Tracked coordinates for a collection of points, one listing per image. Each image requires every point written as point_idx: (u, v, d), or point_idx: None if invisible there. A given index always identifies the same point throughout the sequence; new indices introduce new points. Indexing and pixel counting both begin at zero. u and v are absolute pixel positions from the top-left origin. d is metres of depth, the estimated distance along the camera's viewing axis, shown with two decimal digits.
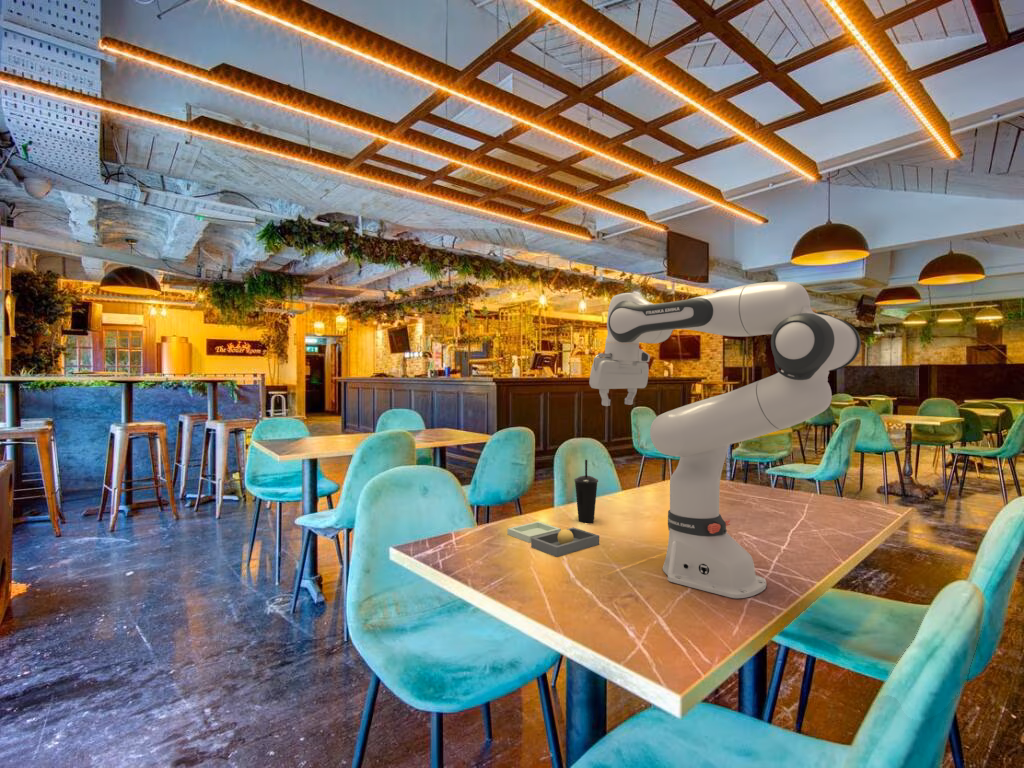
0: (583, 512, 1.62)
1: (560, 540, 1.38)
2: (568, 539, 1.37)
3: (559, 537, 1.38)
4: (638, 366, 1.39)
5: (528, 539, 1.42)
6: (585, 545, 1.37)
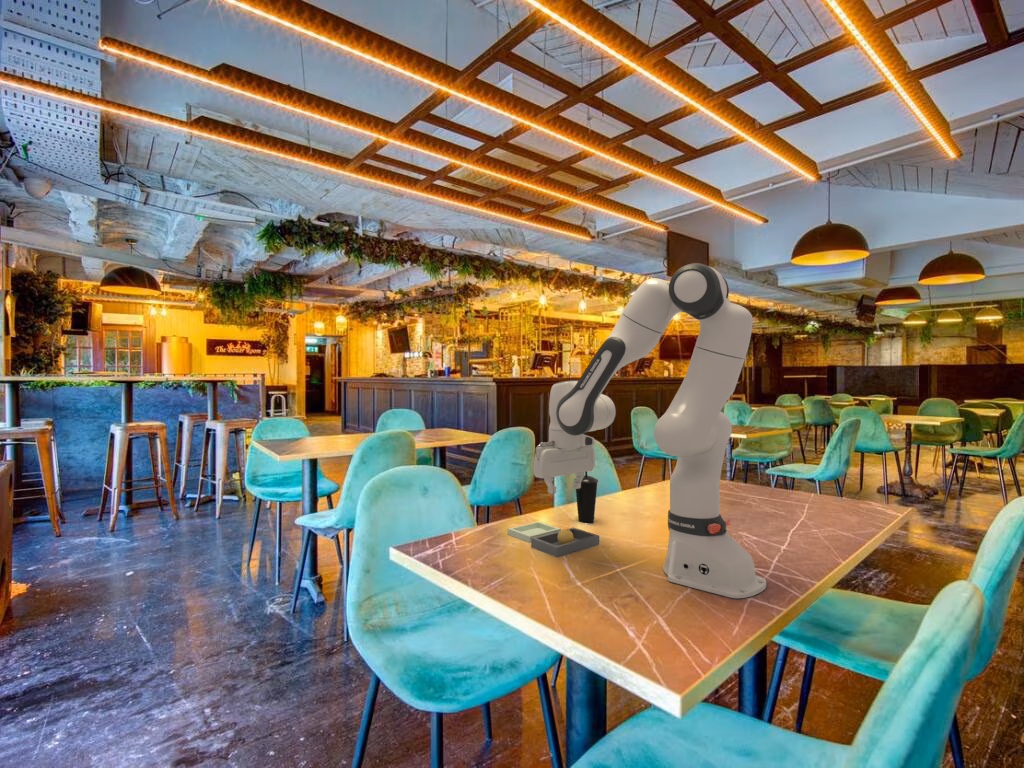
0: (583, 512, 1.62)
1: (560, 540, 1.38)
2: (568, 539, 1.37)
3: (559, 537, 1.38)
4: (583, 450, 1.40)
5: (528, 539, 1.42)
6: (585, 545, 1.37)
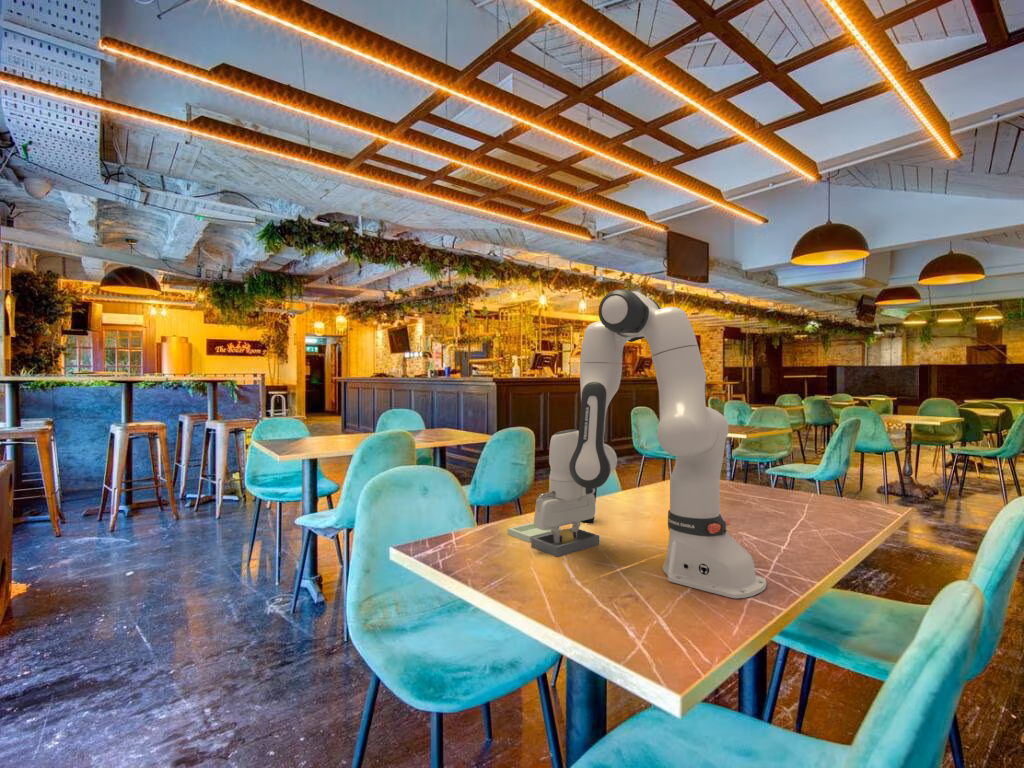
0: None
1: None
2: (568, 539, 1.37)
3: None
4: (583, 499, 1.41)
5: (528, 539, 1.42)
6: (585, 545, 1.37)
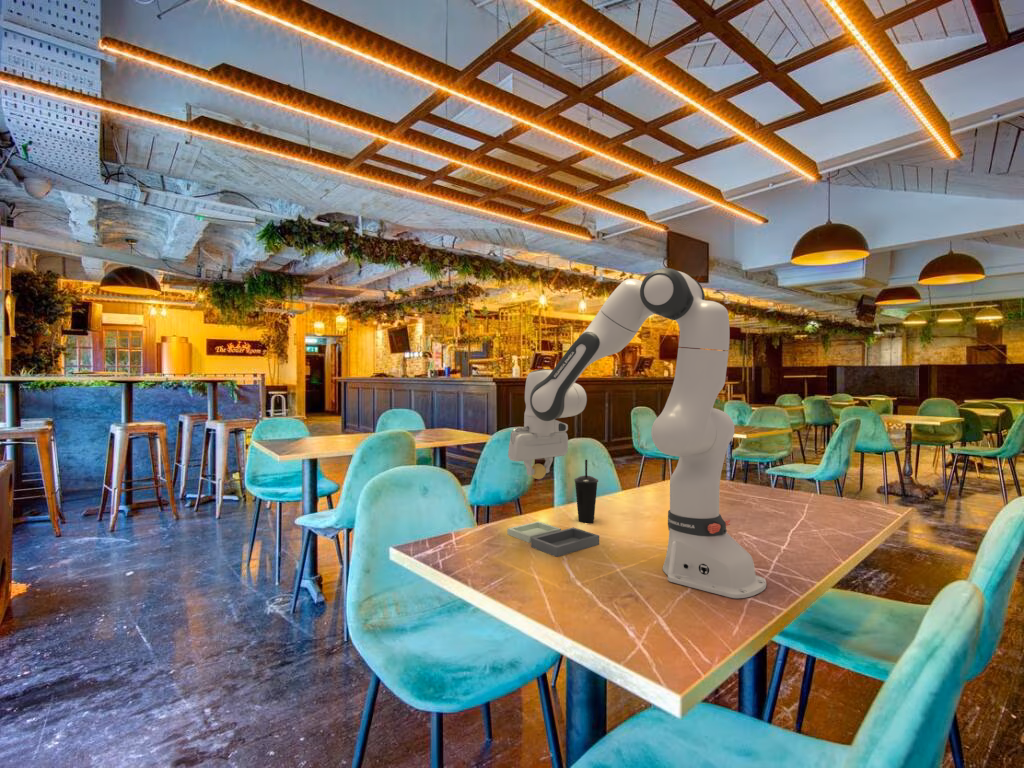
0: (583, 512, 1.62)
1: None
2: (540, 472, 1.45)
3: None
4: (556, 436, 1.48)
5: (528, 539, 1.42)
6: (585, 545, 1.37)
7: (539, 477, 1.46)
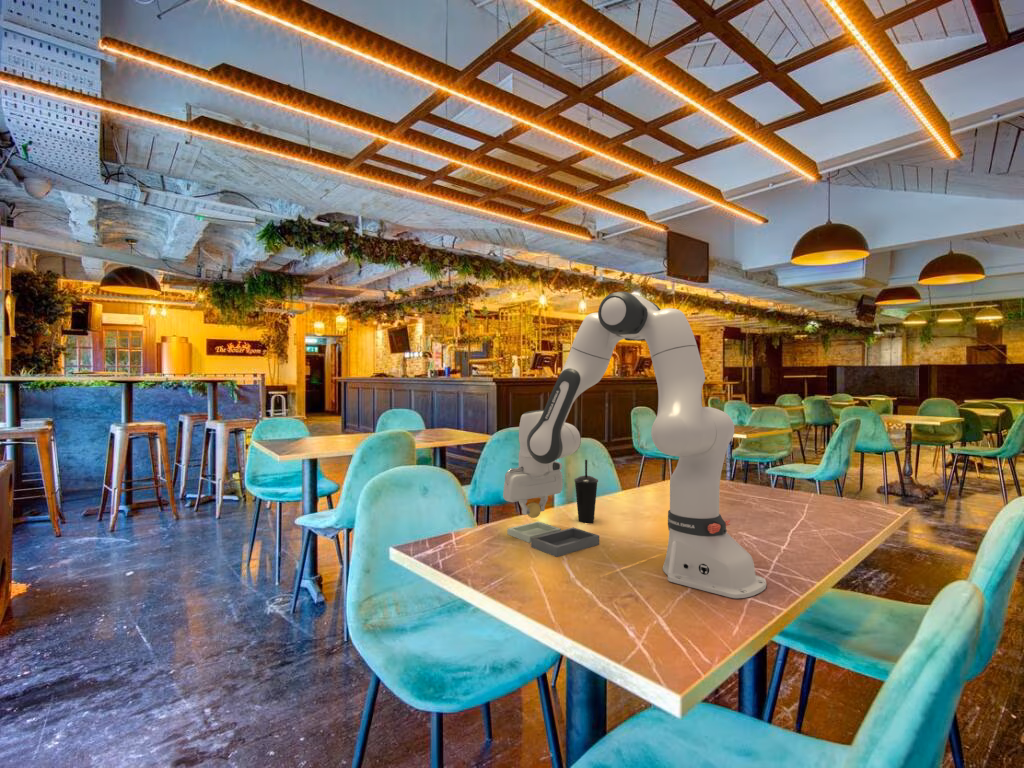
0: (583, 512, 1.62)
1: None
2: (535, 511, 1.48)
3: None
4: (551, 475, 1.51)
5: (528, 539, 1.42)
6: (585, 545, 1.37)
7: (534, 516, 1.48)
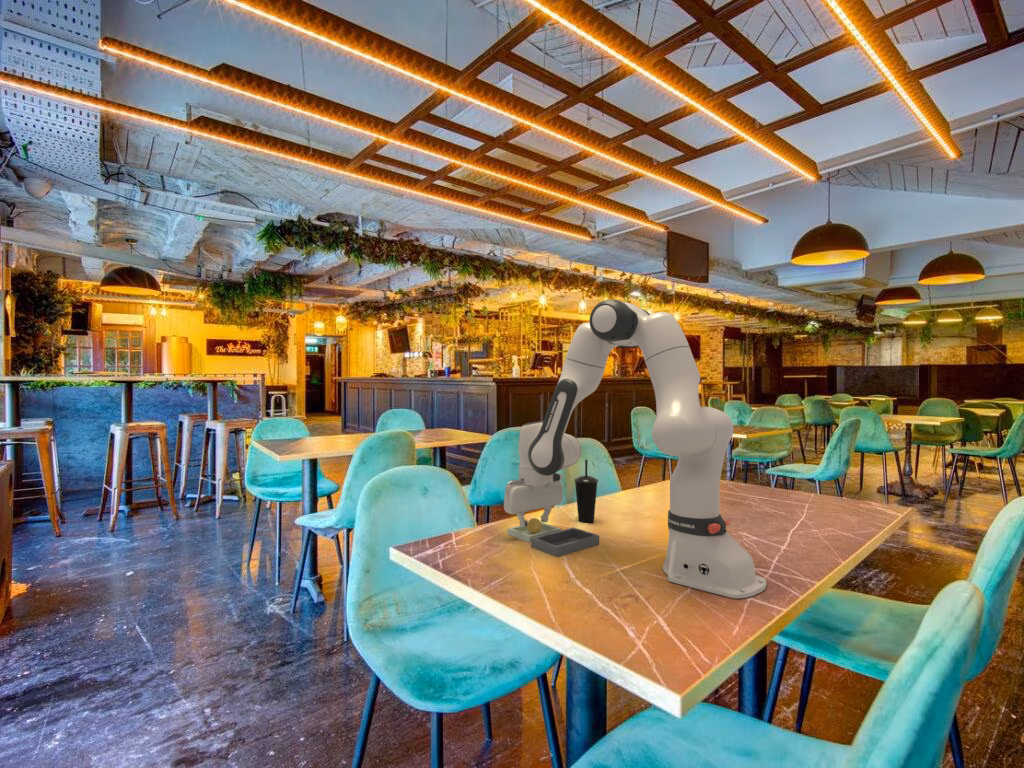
0: (583, 512, 1.62)
1: (529, 528, 1.48)
2: (536, 527, 1.48)
3: (528, 525, 1.49)
4: (551, 486, 1.51)
5: (528, 539, 1.42)
6: (585, 545, 1.37)
7: (535, 532, 1.48)
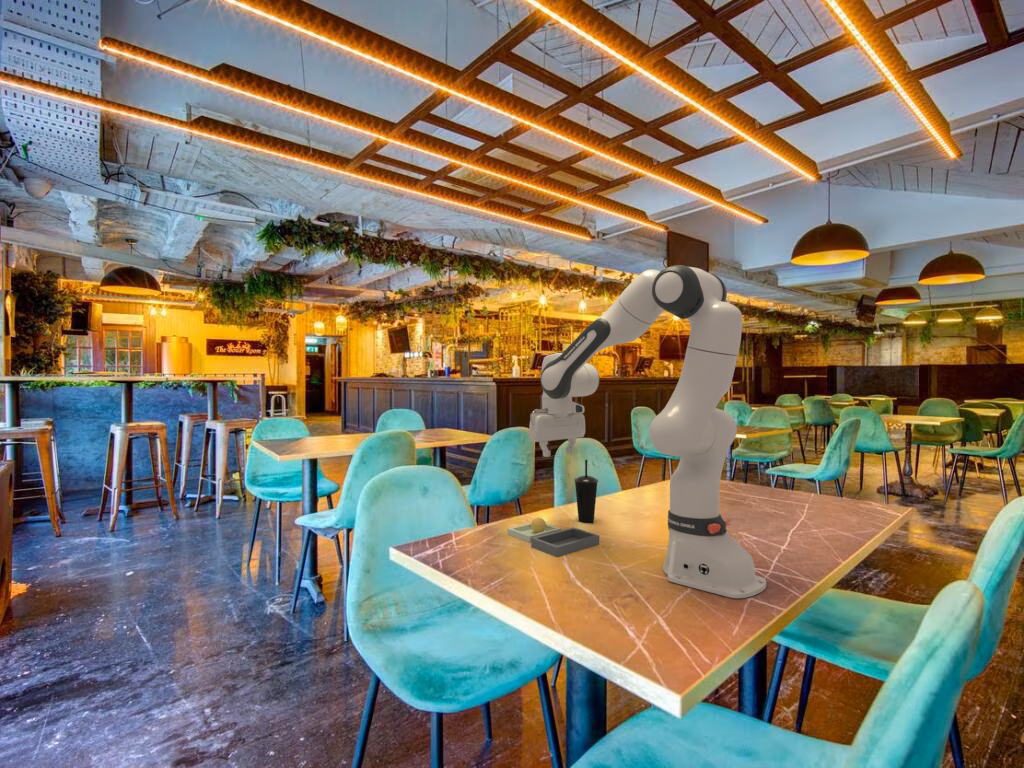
0: (583, 512, 1.62)
1: (534, 522, 1.49)
2: (541, 524, 1.49)
3: (534, 519, 1.50)
4: (574, 417, 1.53)
5: (528, 539, 1.42)
6: (585, 545, 1.37)
7: (537, 529, 1.49)
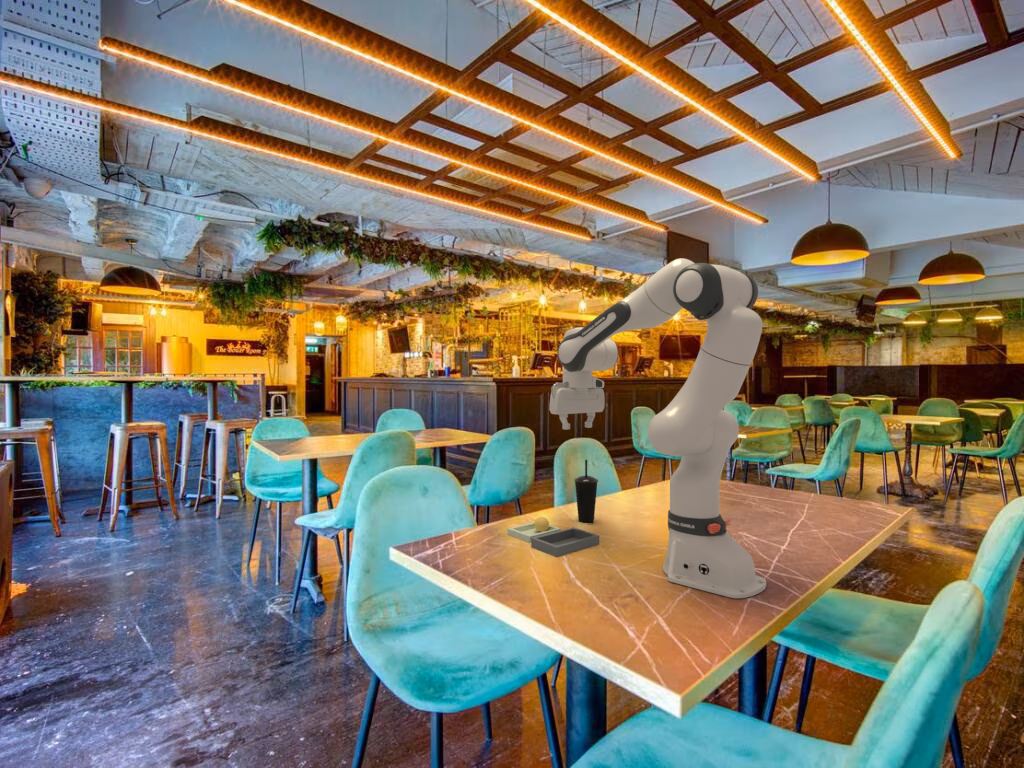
0: (583, 512, 1.62)
1: (540, 518, 1.51)
2: (545, 522, 1.50)
3: (541, 517, 1.51)
4: (594, 392, 1.55)
5: (528, 539, 1.42)
6: (585, 545, 1.37)
7: (540, 525, 1.49)
